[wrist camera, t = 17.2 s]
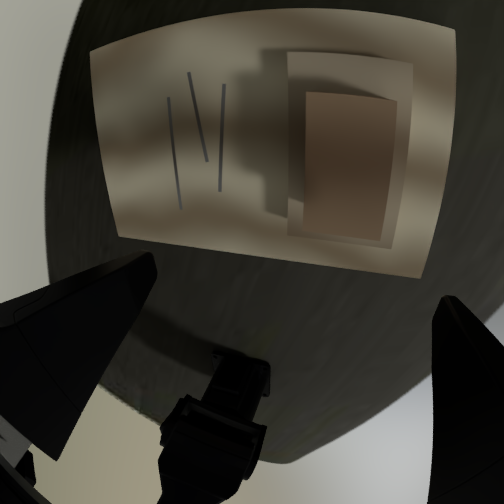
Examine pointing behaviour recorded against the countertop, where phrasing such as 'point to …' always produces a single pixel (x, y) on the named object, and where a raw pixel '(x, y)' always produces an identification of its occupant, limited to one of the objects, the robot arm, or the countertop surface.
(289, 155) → the block
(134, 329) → the countertop surface
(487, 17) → the countertop surface
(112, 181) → the board
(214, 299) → the countertop surface
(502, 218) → the countertop surface
